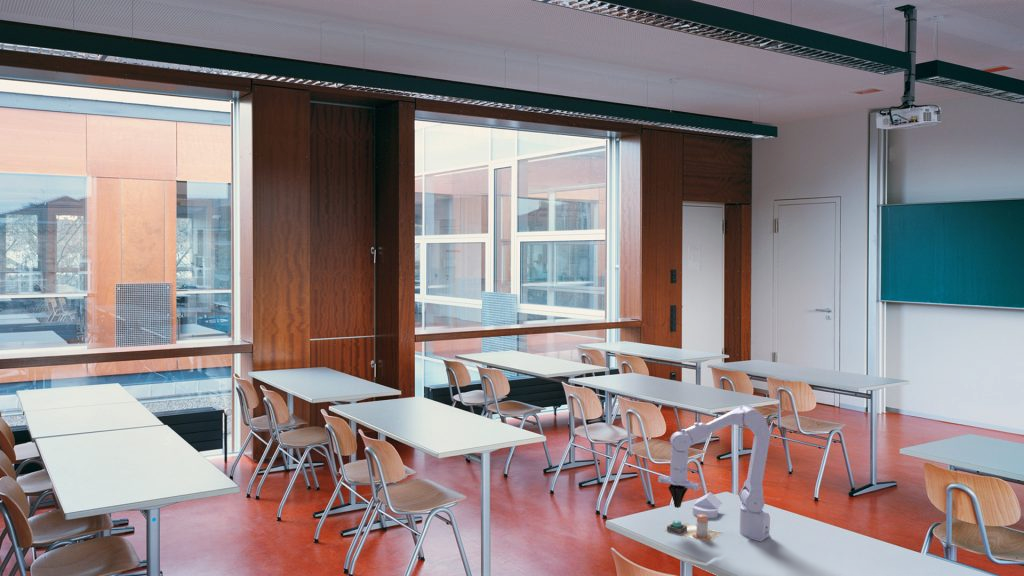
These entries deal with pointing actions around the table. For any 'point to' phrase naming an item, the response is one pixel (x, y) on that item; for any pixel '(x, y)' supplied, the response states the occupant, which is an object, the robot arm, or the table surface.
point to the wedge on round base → (707, 506)
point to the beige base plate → (692, 532)
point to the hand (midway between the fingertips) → (677, 506)
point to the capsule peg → (702, 526)
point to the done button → (677, 524)
